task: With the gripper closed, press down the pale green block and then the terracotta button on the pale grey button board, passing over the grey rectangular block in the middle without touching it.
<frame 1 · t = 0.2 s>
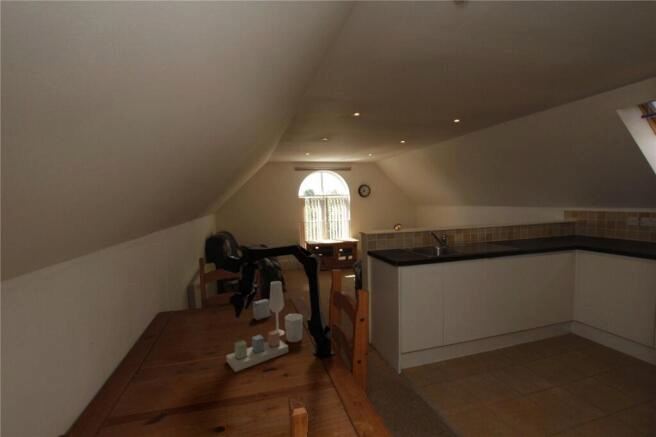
hand: (241, 313, 122), 15 cm above the table, tool pointing down, fingers open, 9 cm apart
pale green block: (240, 349, 111), point 5 cm above the table, slide at 0.0 cm
champagne flute: (277, 333, 137), on the table
button board: (258, 356, 116), on the table
medicine box: (262, 317, 157), on the table
terracotta button: (273, 338, 120), point 5 cm above the table, slide at 0.0 cm
white cup: (294, 339, 131), on the table
grey rectangular block: (257, 343, 116), point 5 cm above the table, slide at 0.0 cm
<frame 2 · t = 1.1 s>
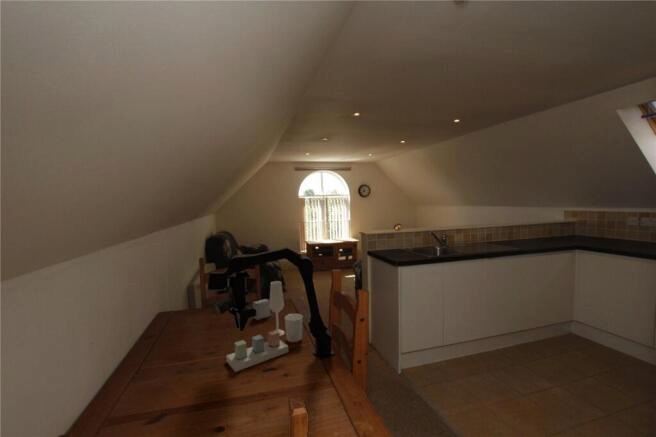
hand: (239, 329, 111), 13 cm above the table, tool pointing down, fingers open, 3 cm apart
nothing on the table moved.
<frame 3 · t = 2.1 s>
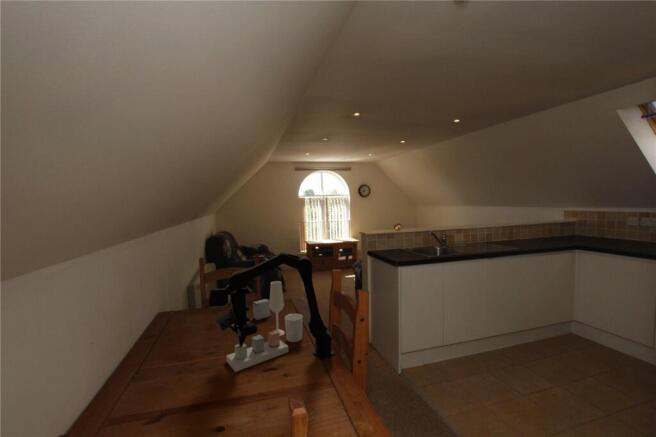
hand: (240, 345, 111), 7 cm above the table, tool pointing down, fingers closed, pressing on pale green block
pale green block: (240, 351, 111), point 4 cm above the table, slide at 1.0 cm, touching gripper
everything else where it was.
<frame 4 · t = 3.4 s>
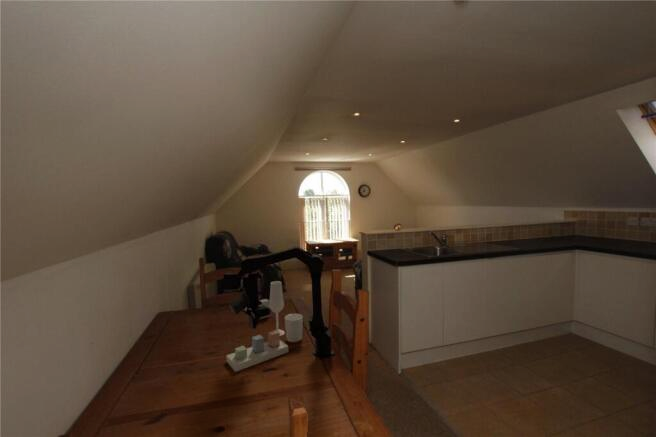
hand: (253, 328, 114), 12 cm above the table, tool pointing down, fingers closed
pale green block: (241, 355, 112), point 3 cm above the table, slide at 2.2 cm
everything else where it was.
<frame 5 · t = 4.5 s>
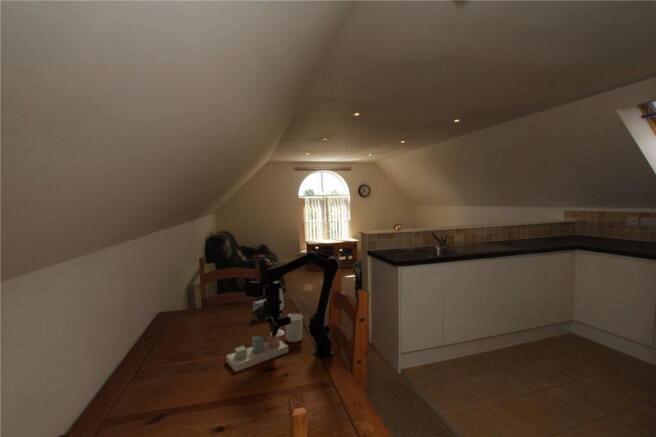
hand: (274, 335, 120), 6 cm above the table, tool pointing down, fingers closed, pressing on terracotta button
terracotta button: (274, 341, 120), point 4 cm above the table, slide at 1.5 cm, touching gripper
everything else where it was.
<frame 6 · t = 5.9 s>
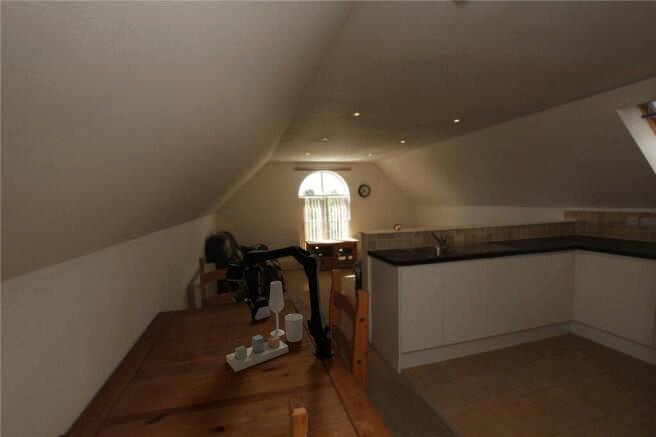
hand: (252, 318, 121), 13 cm above the table, tool pointing down, fingers closed
terracotta button: (274, 343, 120), point 3 cm above the table, slide at 2.3 cm
everything else where it was.
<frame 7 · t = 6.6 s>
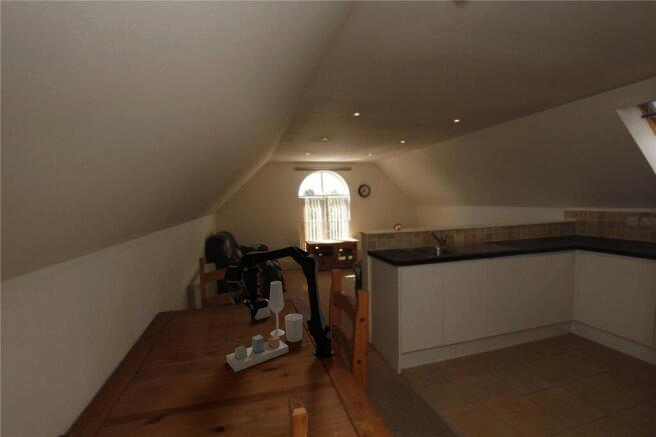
hand: (252, 319, 121), 13 cm above the table, tool pointing down, fingers closed
nothing on the table moved.
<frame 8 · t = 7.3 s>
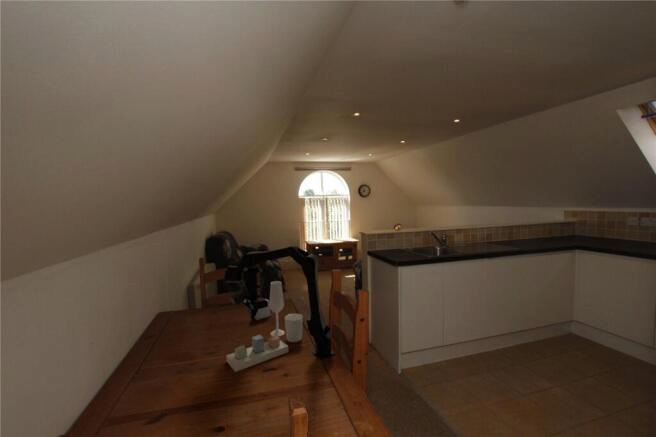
hand: (252, 319, 121), 13 cm above the table, tool pointing down, fingers closed
nothing on the table moved.
at the end: pale green block slide at 2.2 cm; terracotta button slide at 2.3 cm; grey rectangular block slide at 0.0 cm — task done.
